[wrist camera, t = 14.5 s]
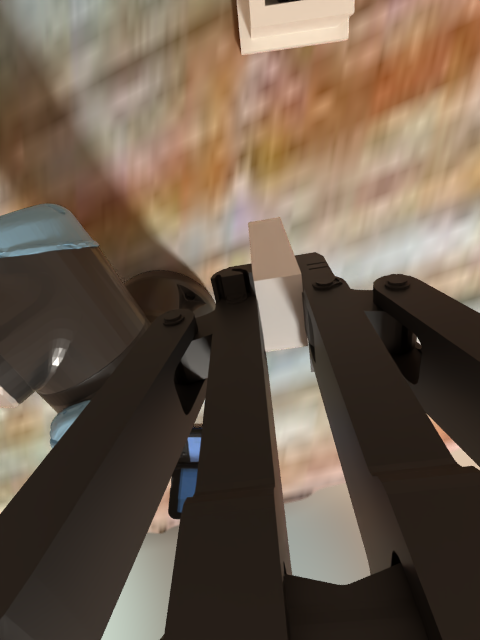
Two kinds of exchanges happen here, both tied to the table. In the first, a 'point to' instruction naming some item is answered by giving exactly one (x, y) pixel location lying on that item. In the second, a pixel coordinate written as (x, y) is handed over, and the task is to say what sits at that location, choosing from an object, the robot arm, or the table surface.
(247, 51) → the knob panel
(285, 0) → the knob
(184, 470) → the handheld game console
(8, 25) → the table surface
